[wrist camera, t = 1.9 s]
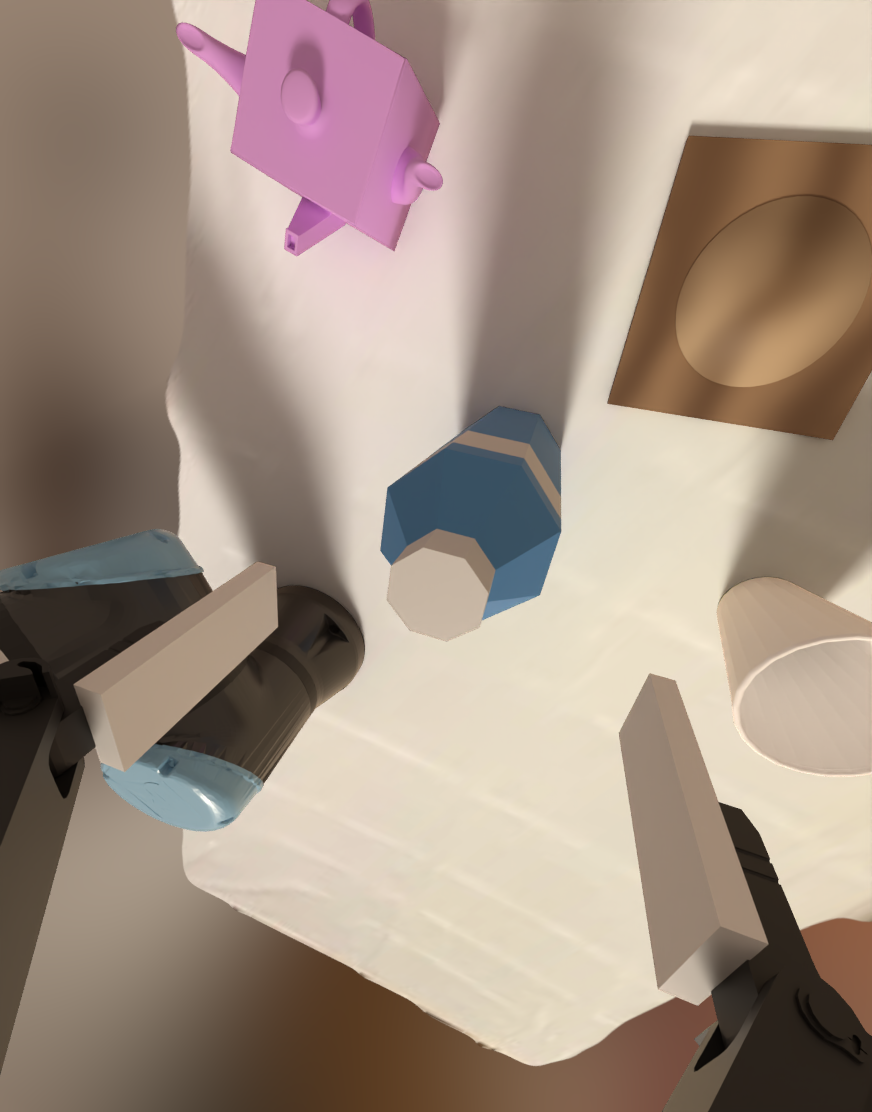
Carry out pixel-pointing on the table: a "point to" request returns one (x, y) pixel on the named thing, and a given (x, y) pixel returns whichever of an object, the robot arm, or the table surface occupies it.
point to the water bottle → (474, 525)
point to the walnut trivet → (757, 288)
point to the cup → (798, 677)
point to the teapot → (327, 117)
